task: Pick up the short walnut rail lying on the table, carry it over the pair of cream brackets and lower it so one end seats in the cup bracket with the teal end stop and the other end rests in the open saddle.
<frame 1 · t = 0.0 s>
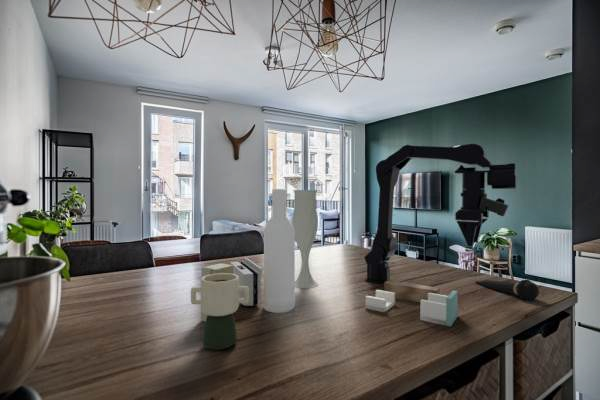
hand: (472, 244, 96), 15 cm above the counter, tool pointing down, fingers open, 9 cm apart
character mug: (220, 346, 64), on the counter
vase: (304, 285, 107), on the counter
bracket: (244, 300, 92), on the counter
rail: (411, 299, 93), on the counter
bottle: (279, 308, 85), on the counter
rail brackets: (405, 311, 83), on the counter
skincare box: (217, 319, 78), on the counter
microphone: (505, 293, 100), on the counter
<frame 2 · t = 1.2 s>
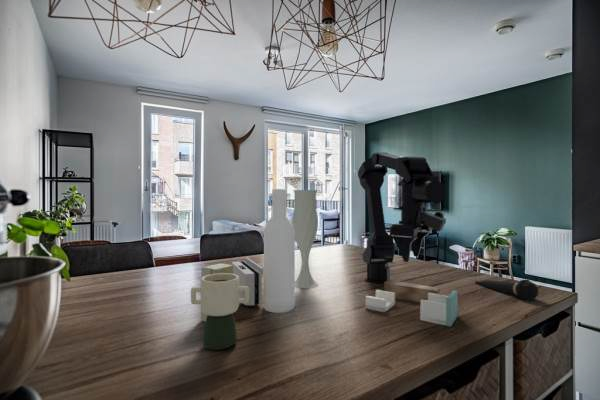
hand: (411, 259, 93), 11 cm above the counter, tool pointing down, fingers open, 9 cm apart
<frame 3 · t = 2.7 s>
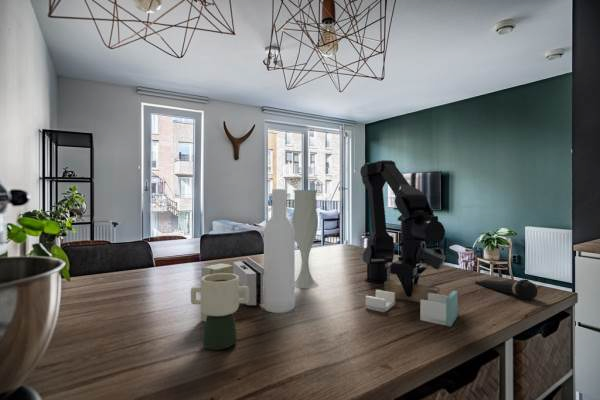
hand: (411, 294, 93), 1 cm above the counter, tool pointing down, fingers closed on rail, 3 cm apart
rail: (411, 299, 93), on the counter, touching gripper
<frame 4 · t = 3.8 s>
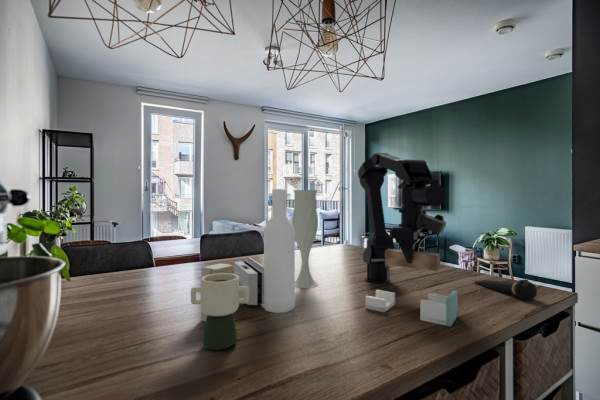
hand: (411, 262, 93), 10 cm above the counter, tool pointing down, fingers closed on rail, 3 cm apart
rail: (411, 266, 93), point 9 cm above the counter, touching gripper
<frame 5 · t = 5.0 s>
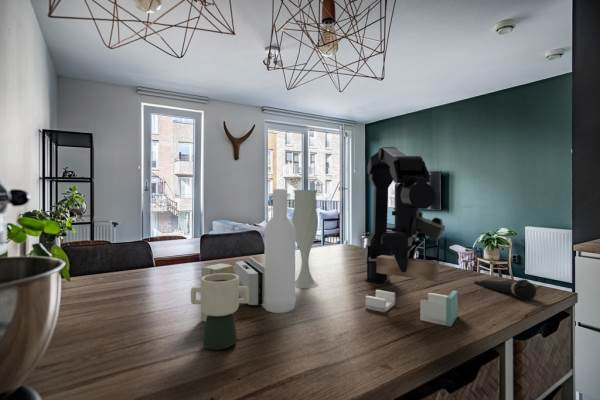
hand: (406, 270, 83), 10 cm above the counter, tool pointing down, fingers closed on rail, 3 cm apart
rail: (406, 275, 83), point 9 cm above the counter, touching gripper
when the fingers open (3 cm above the counter, at t = 6.7 s): rail drops 1 cm, resting on rail brackets.
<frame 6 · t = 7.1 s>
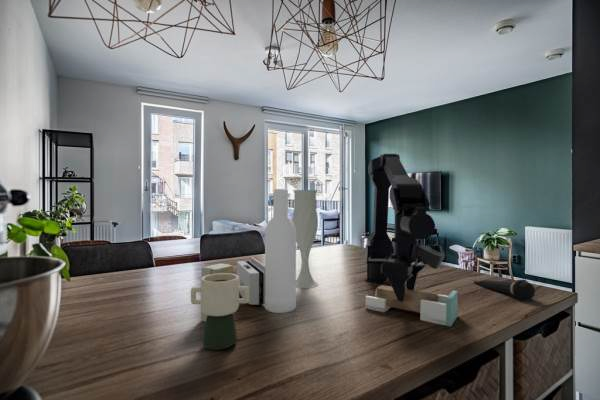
hand: (405, 297, 83), 3 cm above the counter, tool pointing down, fingers open, 7 cm apart
bracket: (251, 299, 93), on the counter, touching bottle
rail: (406, 307, 83), point 1 cm above the counter, touching rail brackets
bottle: (280, 308, 85), on the counter, touching bracket
everything else where it was.
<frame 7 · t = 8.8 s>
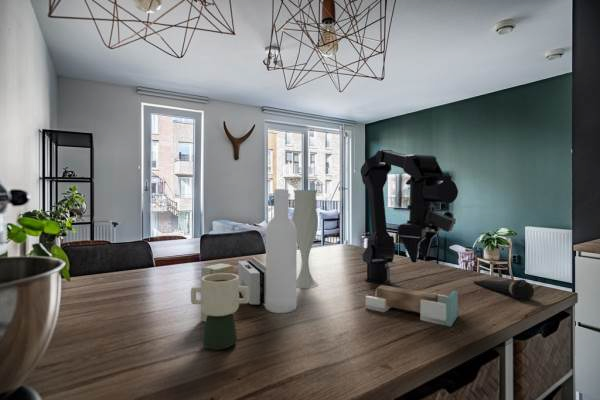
hand: (419, 259, 91), 11 cm above the counter, tool pointing down, fingers open, 9 cm apart
bracket: (252, 299, 93), on the counter
bottle: (281, 308, 85), on the counter
everything else where it was.
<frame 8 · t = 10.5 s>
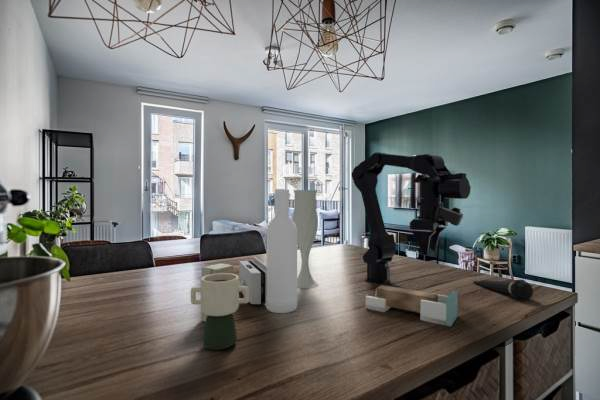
hand: (429, 252, 97), 12 cm above the counter, tool pointing down, fingers open, 9 cm apart
at the end: rail 0.1 cm off-centre on the rail brackets, point 1.0 cm above the rail brackets's base; rail tilted 0°; the gripper is holding nothing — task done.
